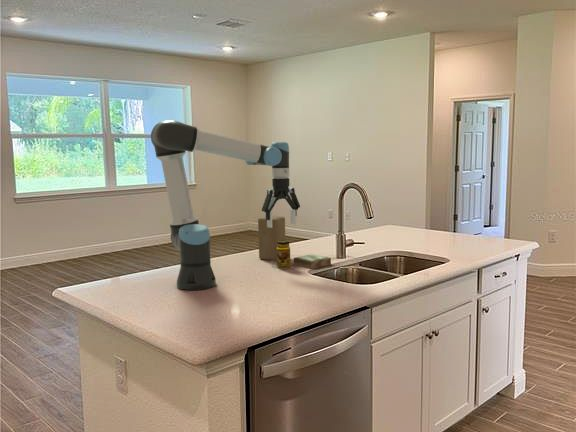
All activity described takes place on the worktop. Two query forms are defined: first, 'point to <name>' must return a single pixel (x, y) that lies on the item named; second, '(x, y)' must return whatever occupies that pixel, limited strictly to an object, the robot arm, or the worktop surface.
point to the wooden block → (270, 237)
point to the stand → (312, 261)
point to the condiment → (283, 255)
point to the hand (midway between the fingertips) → (281, 225)
